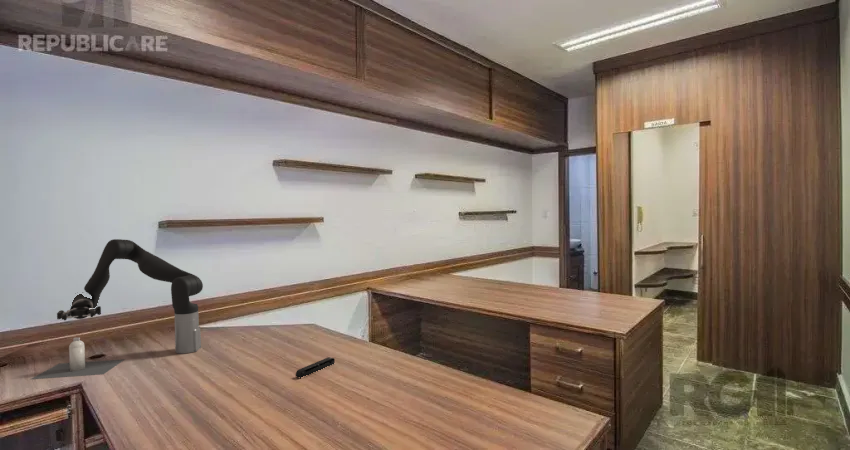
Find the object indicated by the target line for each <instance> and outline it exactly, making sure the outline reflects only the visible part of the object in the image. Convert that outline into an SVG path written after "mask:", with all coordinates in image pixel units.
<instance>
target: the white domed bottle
mask: <svg viewBox="0 0 850 450" xmlns="http://www.w3.org/2000/svg"><path fill="white" fill-rule="evenodd" d="M80 339H81V337H73V339H72V341H71V343H70V344H69V346H68V353H69V363H70V371H78V370H82V369H84V368H85V362H86V355H85V354H86V349H85V342H84V341H82V340H80Z"/></svg>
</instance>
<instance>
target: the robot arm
mask: <svg viewBox="0 0 850 450" xmlns="http://www.w3.org/2000/svg"><path fill="white" fill-rule="evenodd" d="M115 260H129V261H132V262H134V263H136V264H137V268H138V269H139V271H140V272H141V273H142V274H144V275H145V276H147V277H149V278H151V279H153V280H157V281H159V282H160V281H161V282H165V283H166V282H167V283H171V286H170V294H171V304H172V308H173V311H174V312H173V313H174V345H175V346H174V347H175V353H176V354H190V353H194V352H195V353H196V352H198V351H199V350H200V349H201V348H202V345H201V344H202V343H201V341H202V340H201V339H202V338H201V336H202V335H201V326H199V322H200V321H199V305H198V304H197V303H192V302H190V301H191V300H190V297H192V296H195V295H198V294H199V293H201V292H202V291H203V288H204V284H203V282H202V280H201V278H200V277H198V275H195V274H193V273H191V272H188V271H185V270H183V269H180V268H178V267H177V266H175V265H173V264H171V263H169V262H168V261H166V260H164V259H162V258H160V257H159V256H157V255H155V254H153V253H151V252H149V251H147V250H146V249H144V248H142V246H140V245H139V244H137V243H136V242H134V241H133V240H130V239H122V238H121V239H120V238H119V239H116V238H115V239H110V240H109V241H108V242H107V243H106V245H105V246H104V248H103V250H102V253H101V255H100V257H99V259H98V263H97V265H96V267H95V269H94V271H93V273H92V274H91V276H90V277H89V279H88V281H87V282H86V284H85V285H84V287H83V290H84V292H86V294H89V295H91V296H92V299H90V298H87V297H84V296H83V295H82V294H79V295H77V296H76V297H75V298H74V300H73V302H72V306H71V305H70V307H69V308H70V309H68V310H66V311H65V310H61V309H60V310H59V311H58V312H56V318H57V319H56V320H63V321H67V319H73V318H74V319H77V320H83V319H86V318H87V317H90V318H93V317H95V316H96V315H98V316H99V315H101V314H102V307H101V306H98V305H97V303H98V304H99V302H98V300H99V301H100V298H99V297H101V294H102V292H103V290H104V289H105V287H106V286H107V285H108V282H109V281H110V276H111V275H110V273H111V272H110V266H111V264H112V263H113V262H114V261H115ZM96 306H97V307H96ZM95 307H96V308H95ZM93 308H95V309H93Z"/></svg>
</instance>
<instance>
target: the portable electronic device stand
mask: <svg viewBox="0 0 850 450" xmlns="http://www.w3.org/2000/svg"><path fill="white" fill-rule="evenodd" d="M335 360H336V358H334V357H330V356H328V357H326V358H323V359H321V360H318V361H317V362H316V361H315V362H314V363H311V364H308V365H306V366H304V367H301V368H299V369H297V370H296V372H295V377H296V376H297V377H296V378H298V377H300V378H299V379H301V377H303V376H306V375H308V376H310V375H309V374H311V373H313V372H315V373H317V372H319V371H318V370H320V371H322V370H324V369H326V368H325V367H327V366H329V367H331V366H333V365H335V364H334V363H336V362H335ZM332 364H333V365H332ZM330 365H331V366H330ZM323 368H324V369H323ZM327 368H328V367H327ZM321 369H322V370H321ZM316 371H317V372H316ZM313 374H314V373H313ZM311 375H312V374H311ZM306 377H307V376H306Z"/></svg>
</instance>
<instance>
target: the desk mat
mask: <svg viewBox="0 0 850 450" xmlns="http://www.w3.org/2000/svg"><path fill="white" fill-rule="evenodd" d="M125 360H126V358H125V359H124V358H123V359H121V358H120V359H107V360H92V361H85V368H84V369H82V370H78V371H70V362H61V363H60V362H59V363H57V364H56V365H53V366H52V367H51V368H48V369H47V370H45V371H42V372H41V373H39V374H37V375H35V376H33V377H32V378H30V379H29V380H43V379H44V380H45V379H56V378H57V379H58V378H71V377H73V378H74V377H85V376H86V377H87V376H88V377H89V376H99V375H100V376H101V375H105V374H106V373H108V372H109V371H110V370H112V369H113V368H116V366H118V365H119V364H120V363H123V362H125Z"/></svg>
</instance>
